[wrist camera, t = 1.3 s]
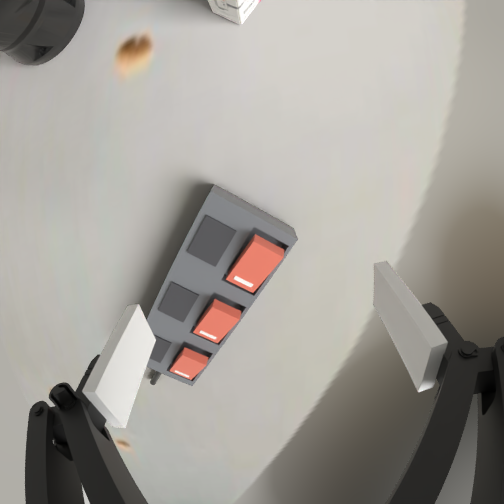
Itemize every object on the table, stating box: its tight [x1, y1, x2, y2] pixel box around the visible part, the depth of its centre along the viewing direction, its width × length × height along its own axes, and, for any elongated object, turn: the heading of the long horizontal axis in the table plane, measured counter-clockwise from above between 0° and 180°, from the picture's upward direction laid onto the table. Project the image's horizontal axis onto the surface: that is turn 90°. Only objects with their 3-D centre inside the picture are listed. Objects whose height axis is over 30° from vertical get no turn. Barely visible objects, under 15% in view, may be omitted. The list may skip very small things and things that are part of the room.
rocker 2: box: [193, 299, 241, 343], centre depth 44 cm, size 4×8×2 cm, turn 150°
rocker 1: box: [170, 347, 209, 380], centre depth 49 cm, size 4×8×2 cm, turn 150°
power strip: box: [147, 185, 298, 386], centre depth 48 cm, size 13×44×4 cm, turn 150°
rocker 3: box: [226, 234, 284, 293], centre depth 40 cm, size 4×8×2 cm, turn 150°
